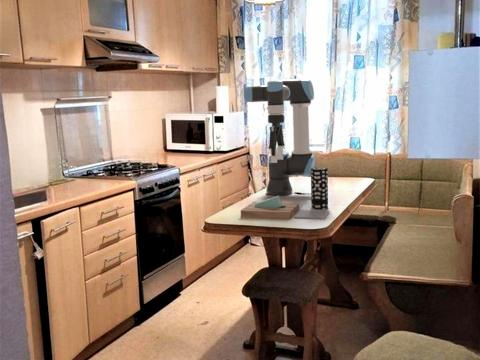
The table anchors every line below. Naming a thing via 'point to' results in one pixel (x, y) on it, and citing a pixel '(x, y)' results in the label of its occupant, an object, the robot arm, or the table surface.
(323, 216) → the felt pad
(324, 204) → the spotted tube
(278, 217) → the pocket board
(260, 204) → the teal bar
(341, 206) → the table surface
